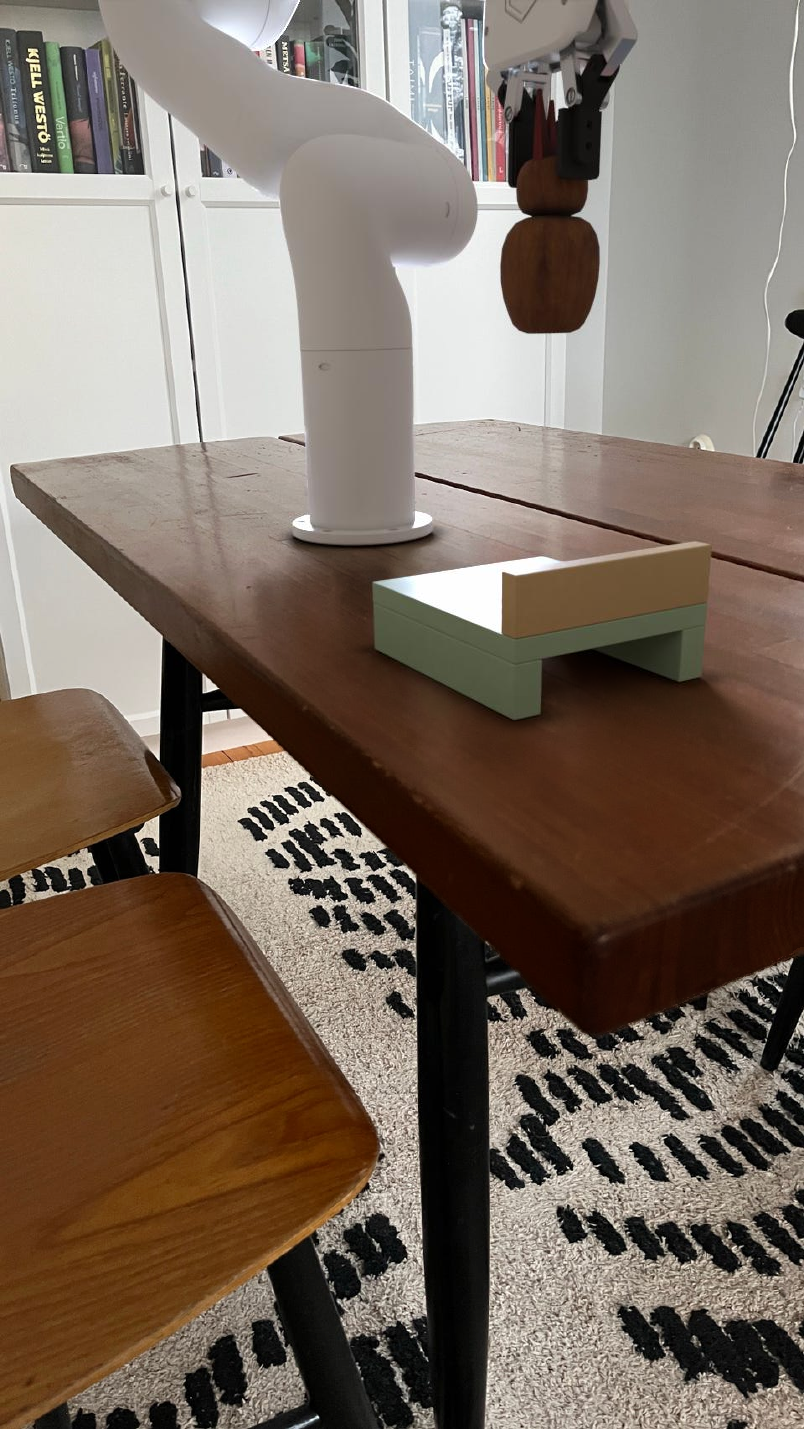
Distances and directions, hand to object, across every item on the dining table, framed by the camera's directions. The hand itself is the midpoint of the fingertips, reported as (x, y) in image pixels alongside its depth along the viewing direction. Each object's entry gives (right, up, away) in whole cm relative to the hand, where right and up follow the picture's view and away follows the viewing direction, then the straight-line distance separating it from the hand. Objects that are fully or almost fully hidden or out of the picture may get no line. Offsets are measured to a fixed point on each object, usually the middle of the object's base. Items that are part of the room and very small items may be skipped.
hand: (552, 180), depth 72 cm
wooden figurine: (0, -9, +4) cm, 10 cm away
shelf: (-3, -33, -13) cm, 36 cm away
